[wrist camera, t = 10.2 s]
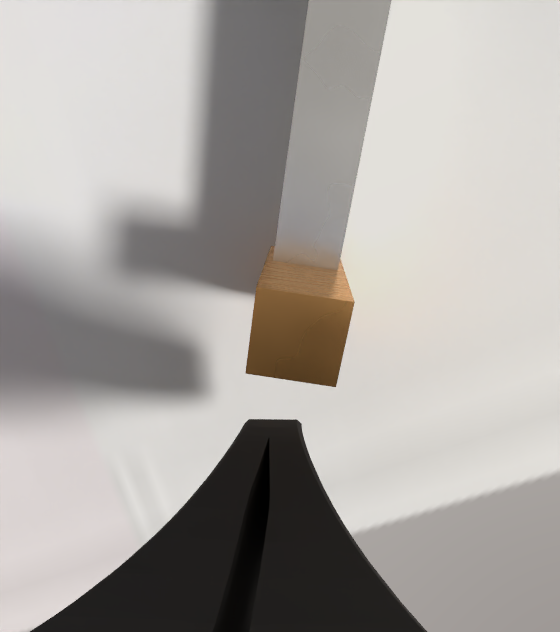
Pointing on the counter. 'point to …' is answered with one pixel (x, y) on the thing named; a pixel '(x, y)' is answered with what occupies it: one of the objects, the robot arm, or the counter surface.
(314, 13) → the lock pin
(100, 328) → the counter surface
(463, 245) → the counter surface
